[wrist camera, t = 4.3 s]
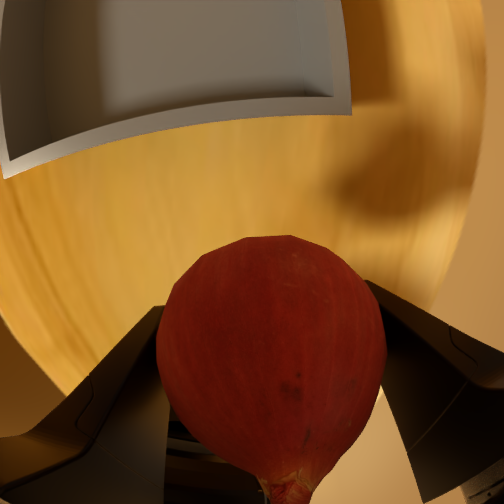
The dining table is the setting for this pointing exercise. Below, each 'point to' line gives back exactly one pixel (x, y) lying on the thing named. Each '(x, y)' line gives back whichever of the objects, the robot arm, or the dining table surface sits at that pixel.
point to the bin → (160, 68)
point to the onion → (273, 359)
